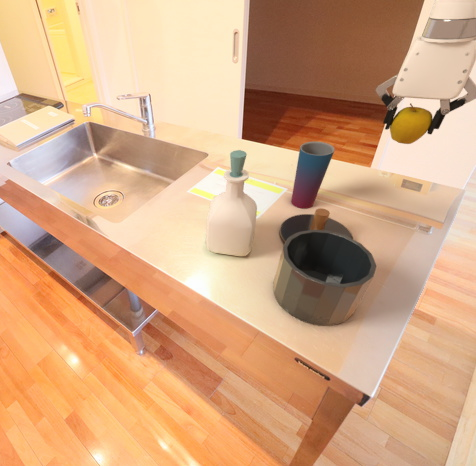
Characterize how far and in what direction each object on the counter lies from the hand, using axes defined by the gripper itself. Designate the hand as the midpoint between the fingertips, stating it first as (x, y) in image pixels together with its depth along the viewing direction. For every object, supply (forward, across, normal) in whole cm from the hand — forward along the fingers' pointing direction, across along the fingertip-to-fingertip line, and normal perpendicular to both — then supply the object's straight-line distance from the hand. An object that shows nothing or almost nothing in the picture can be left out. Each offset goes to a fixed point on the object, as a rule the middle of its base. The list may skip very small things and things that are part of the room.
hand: (408, 128), depth 66 cm
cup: (+18, +14, +8) cm, 25 cm away
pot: (+19, +4, +37) cm, 41 cm away
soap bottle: (+19, +24, +31) cm, 43 cm away
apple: (+3, 0, 0) cm, 3 cm away
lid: (+18, +8, +20) cm, 28 cm away
